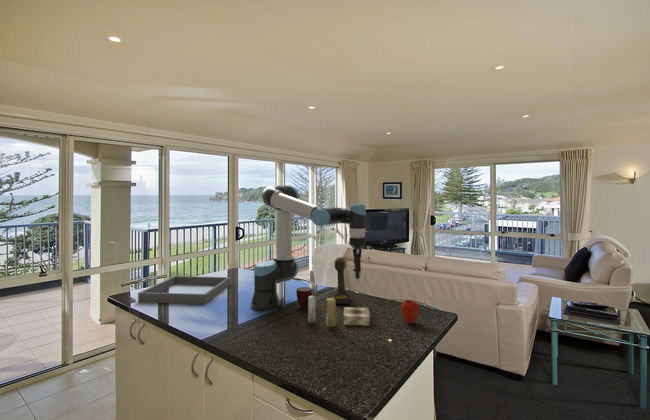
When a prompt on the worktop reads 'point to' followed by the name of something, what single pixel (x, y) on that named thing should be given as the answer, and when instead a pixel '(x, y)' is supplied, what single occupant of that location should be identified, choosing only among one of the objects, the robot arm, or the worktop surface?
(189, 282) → the frame
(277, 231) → the robot arm
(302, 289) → the mug
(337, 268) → the cordless drill
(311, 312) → the round bit
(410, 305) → the apple
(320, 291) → the worktop surface
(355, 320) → the bore block
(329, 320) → the square bit
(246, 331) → the worktop surface
